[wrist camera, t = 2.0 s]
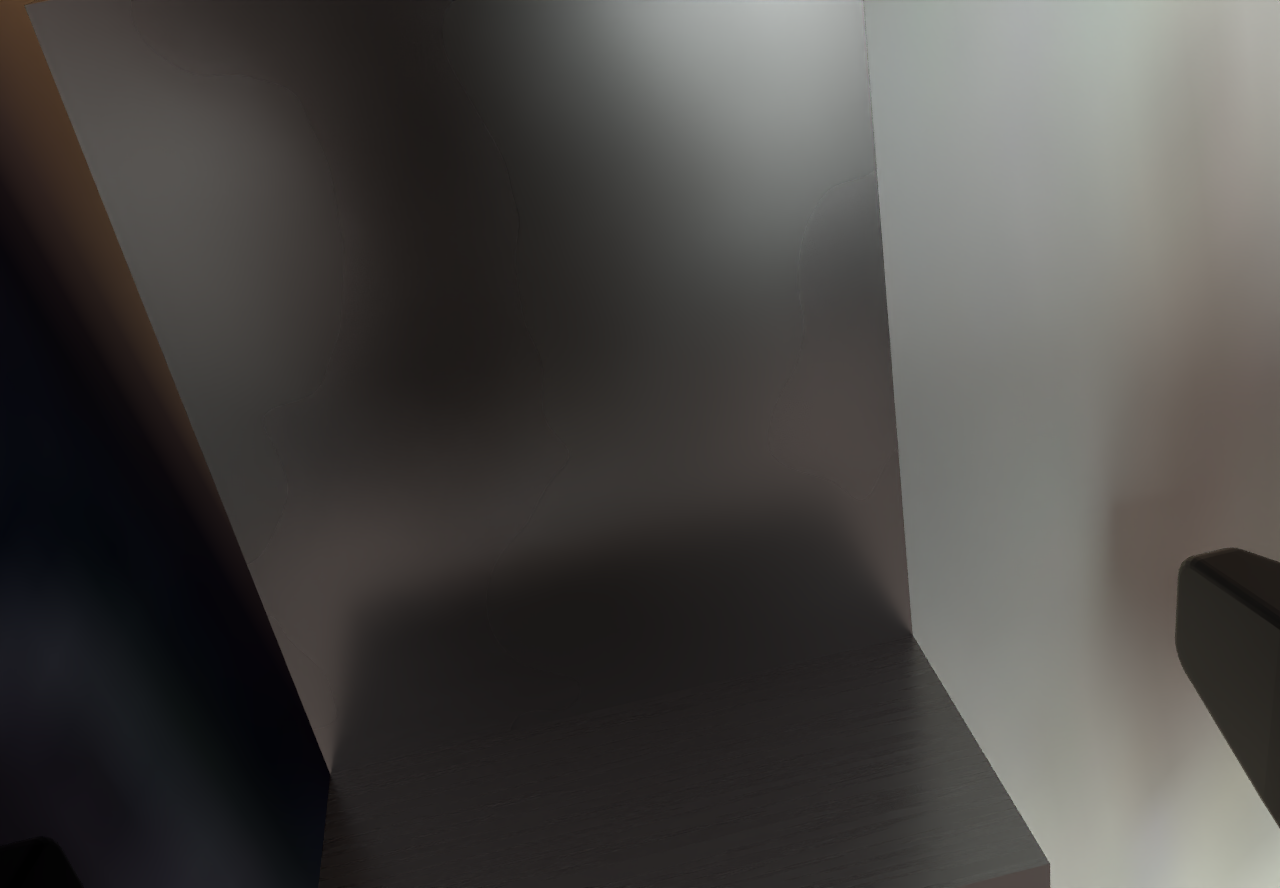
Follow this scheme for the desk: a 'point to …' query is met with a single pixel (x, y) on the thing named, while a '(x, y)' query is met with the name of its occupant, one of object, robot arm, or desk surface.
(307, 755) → the desk surface
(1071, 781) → the desk surface
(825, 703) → the angle bracket
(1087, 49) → the desk surface
